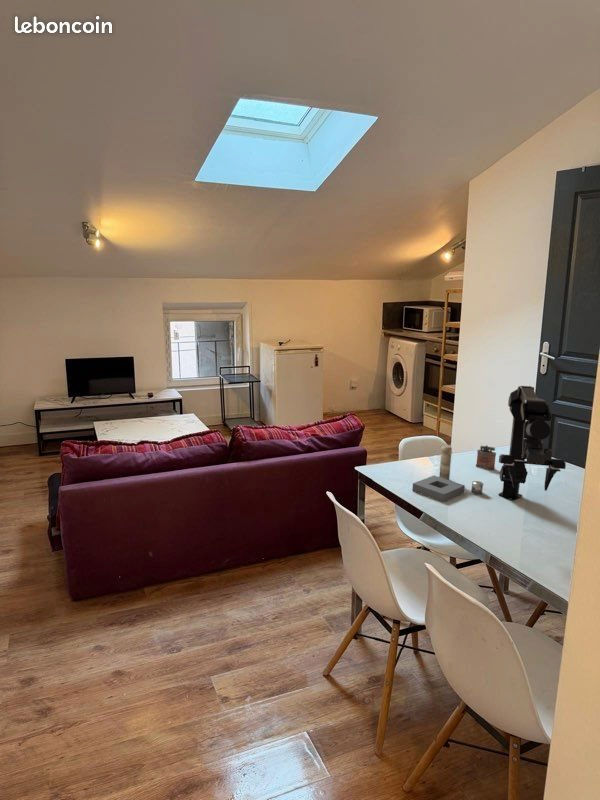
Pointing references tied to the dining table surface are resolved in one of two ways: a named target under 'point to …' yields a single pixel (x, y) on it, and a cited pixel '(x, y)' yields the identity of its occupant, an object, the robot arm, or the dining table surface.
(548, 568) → the dining table surface
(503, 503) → the dining table surface
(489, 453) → the lighter
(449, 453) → the birch pin
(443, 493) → the plate
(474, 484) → the steel stub
